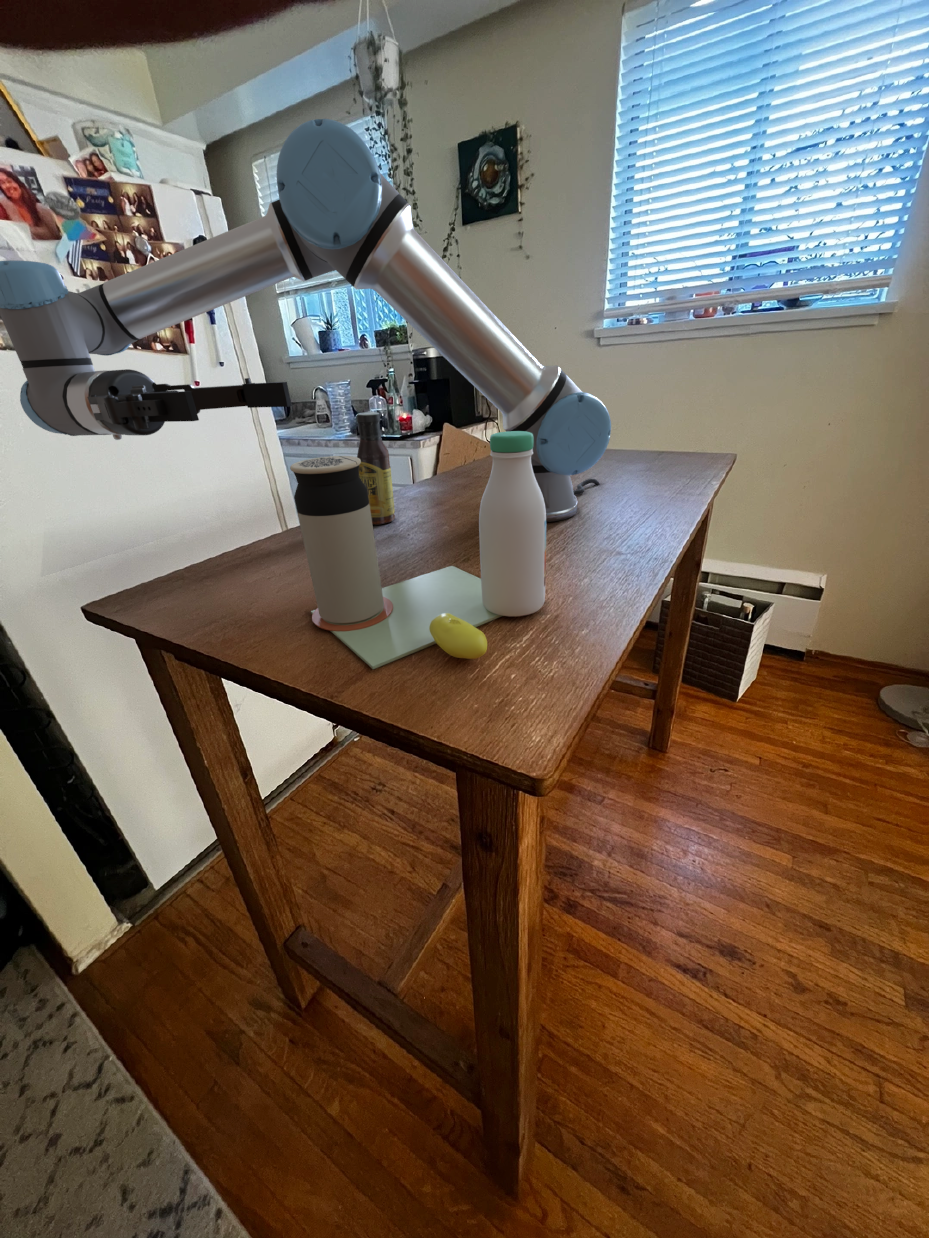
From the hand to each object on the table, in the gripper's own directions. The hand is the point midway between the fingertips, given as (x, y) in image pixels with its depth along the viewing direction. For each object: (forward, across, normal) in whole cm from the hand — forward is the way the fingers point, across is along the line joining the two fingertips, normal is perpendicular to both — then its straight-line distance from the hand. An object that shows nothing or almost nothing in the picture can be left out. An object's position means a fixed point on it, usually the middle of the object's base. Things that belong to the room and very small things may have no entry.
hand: (244, 399), depth 55 cm
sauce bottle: (-9, -36, -25) cm, 45 cm away
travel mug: (+10, 0, -25) cm, 26 cm away
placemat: (+17, -4, -25) cm, 31 cm away
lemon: (+26, +4, -25) cm, 36 cm away
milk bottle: (+28, -8, -25) cm, 38 cm away
